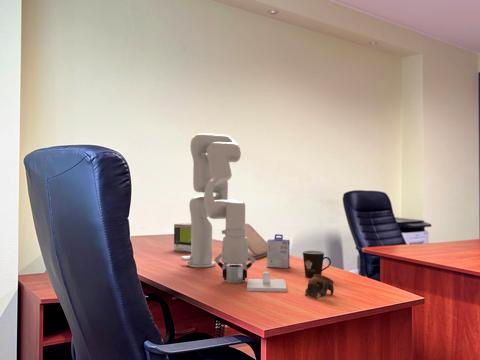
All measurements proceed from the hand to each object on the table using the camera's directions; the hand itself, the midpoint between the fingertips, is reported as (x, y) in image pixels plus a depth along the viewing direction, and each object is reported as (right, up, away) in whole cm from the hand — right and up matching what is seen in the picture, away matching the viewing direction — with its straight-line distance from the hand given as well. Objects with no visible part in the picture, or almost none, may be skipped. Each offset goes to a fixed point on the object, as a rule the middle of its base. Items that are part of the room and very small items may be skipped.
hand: (234, 279), depth 173 cm
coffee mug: (+33, -1, +8) cm, 34 cm away
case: (+6, -1, +61) cm, 61 cm away
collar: (0, -1, 0) cm, 1 cm away
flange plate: (+12, -1, -8) cm, 14 cm away
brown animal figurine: (+29, -1, -20) cm, 36 cm away
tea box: (-26, -1, +74) cm, 78 cm away
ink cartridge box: (+19, -1, +30) cm, 36 cm away
